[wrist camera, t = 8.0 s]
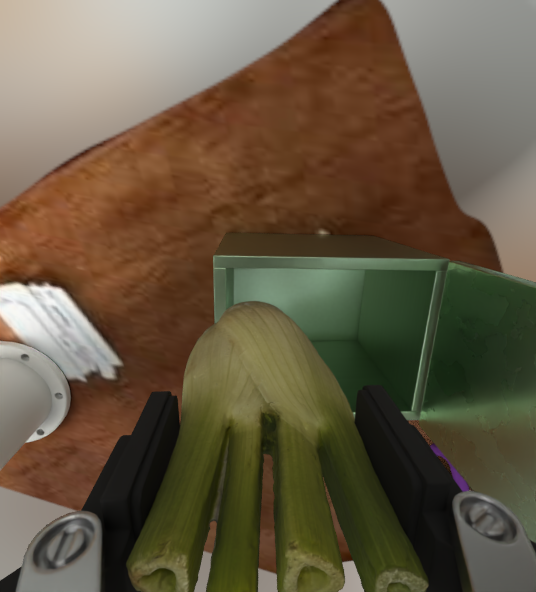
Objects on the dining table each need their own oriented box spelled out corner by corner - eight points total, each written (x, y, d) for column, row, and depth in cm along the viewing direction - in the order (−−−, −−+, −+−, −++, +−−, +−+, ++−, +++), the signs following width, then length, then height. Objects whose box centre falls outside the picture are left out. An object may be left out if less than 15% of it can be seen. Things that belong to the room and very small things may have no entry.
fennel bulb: (329, 333, 17) (478, 593, 6) (275, 401, 18) (314, 733, 7) (238, 272, 16) (205, 449, 5) (186, 348, 17) (56, 642, 6)
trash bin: (227, 344, 38) (216, 424, 24) (225, 232, 34) (213, 255, 21) (361, 344, 39) (420, 420, 26) (373, 235, 35) (450, 259, 22)
